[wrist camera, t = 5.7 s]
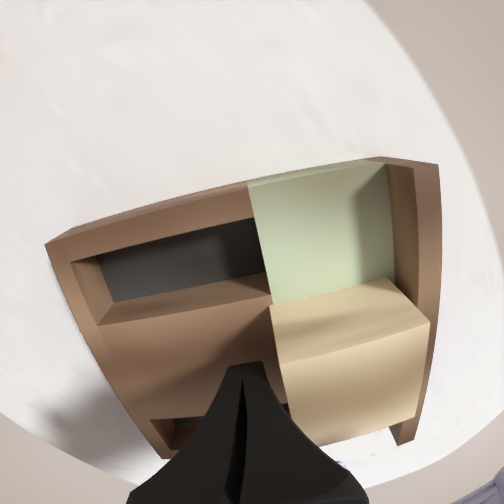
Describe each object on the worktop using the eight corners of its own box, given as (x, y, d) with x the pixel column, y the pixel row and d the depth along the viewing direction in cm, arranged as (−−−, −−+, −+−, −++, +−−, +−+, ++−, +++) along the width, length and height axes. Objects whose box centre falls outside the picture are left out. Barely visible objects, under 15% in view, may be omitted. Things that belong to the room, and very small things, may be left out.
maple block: (385, 366, 13) (414, 416, 10) (288, 391, 13) (299, 451, 10) (386, 277, 11) (430, 321, 8) (269, 305, 12) (279, 364, 8)
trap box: (387, 389, 17) (413, 439, 13) (167, 430, 17) (157, 484, 13) (380, 156, 12) (438, 164, 8) (71, 228, 13) (16, 261, 9)
